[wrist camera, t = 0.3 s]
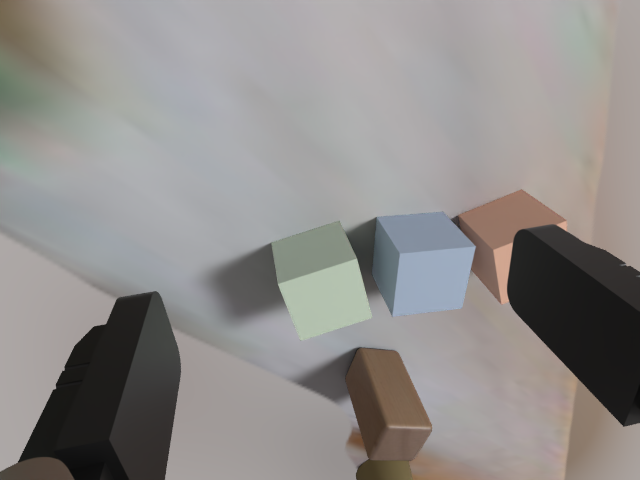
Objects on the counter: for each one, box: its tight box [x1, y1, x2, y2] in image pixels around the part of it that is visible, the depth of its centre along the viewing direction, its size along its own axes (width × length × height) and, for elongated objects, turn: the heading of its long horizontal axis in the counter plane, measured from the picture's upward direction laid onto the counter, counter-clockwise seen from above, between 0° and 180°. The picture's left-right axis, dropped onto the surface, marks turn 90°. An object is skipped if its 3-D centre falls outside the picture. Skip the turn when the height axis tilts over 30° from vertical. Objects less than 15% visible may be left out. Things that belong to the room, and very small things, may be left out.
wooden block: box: [345, 348, 432, 461], centre depth 34 cm, size 4×4×8 cm
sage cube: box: [271, 221, 372, 341], centre depth 29 cm, size 5×5×5 cm
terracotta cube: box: [458, 190, 567, 305], centre depth 31 cm, size 5×5×5 cm
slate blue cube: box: [372, 212, 476, 317], centre depth 30 cm, size 5×5×5 cm
